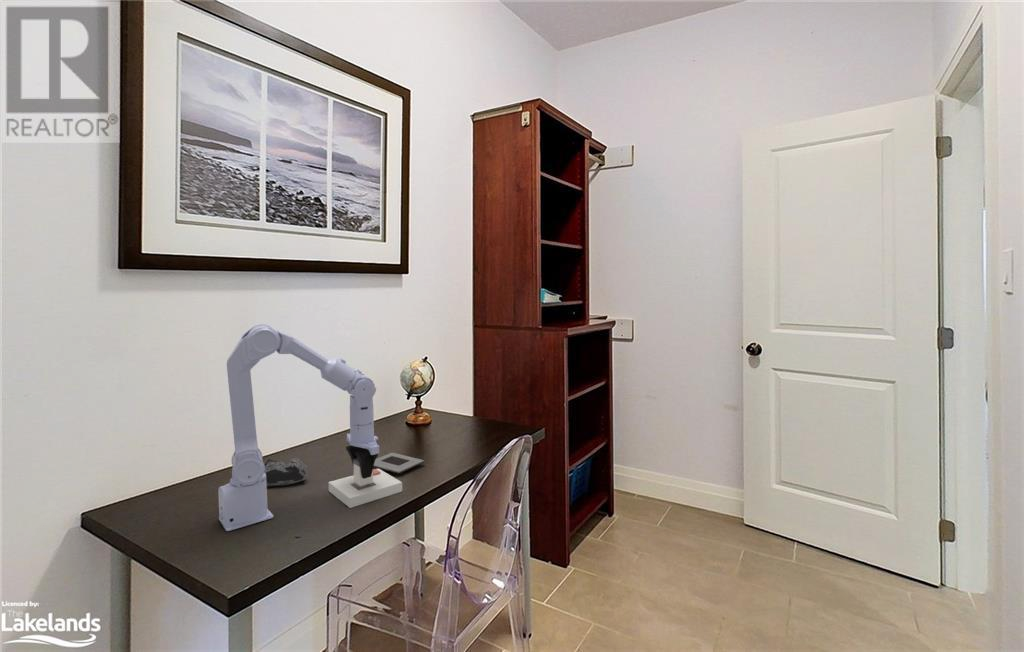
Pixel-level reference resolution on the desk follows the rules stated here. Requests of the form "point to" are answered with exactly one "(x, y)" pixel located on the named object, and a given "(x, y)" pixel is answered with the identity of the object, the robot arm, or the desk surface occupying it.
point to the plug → (358, 476)
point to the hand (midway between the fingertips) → (363, 475)
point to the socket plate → (365, 488)
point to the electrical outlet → (396, 463)
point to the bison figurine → (285, 472)
